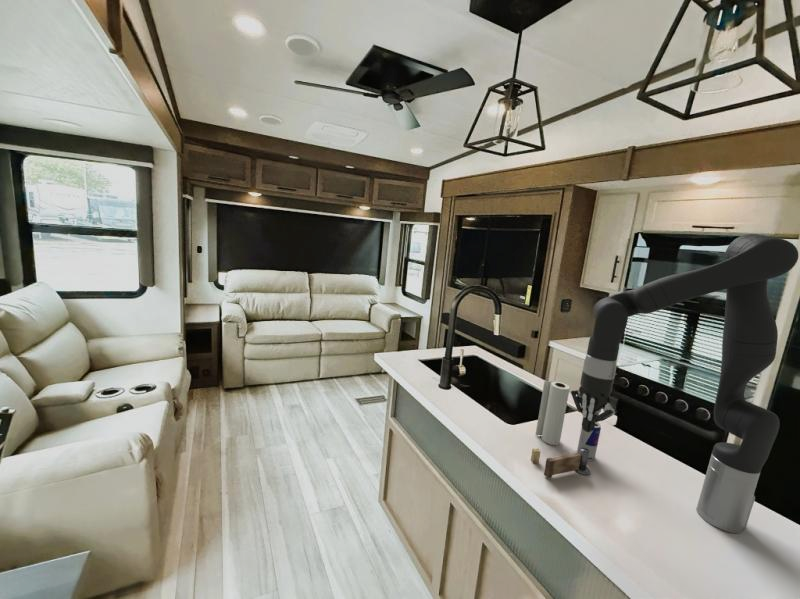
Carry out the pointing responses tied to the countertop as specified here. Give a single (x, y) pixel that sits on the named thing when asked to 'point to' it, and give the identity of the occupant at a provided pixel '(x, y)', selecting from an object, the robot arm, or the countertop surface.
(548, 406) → the paper towel roll
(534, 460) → the block
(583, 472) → the grey knob on disc
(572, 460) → the wooden block
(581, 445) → the energy drink
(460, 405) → the countertop surface
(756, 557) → the countertop surface
